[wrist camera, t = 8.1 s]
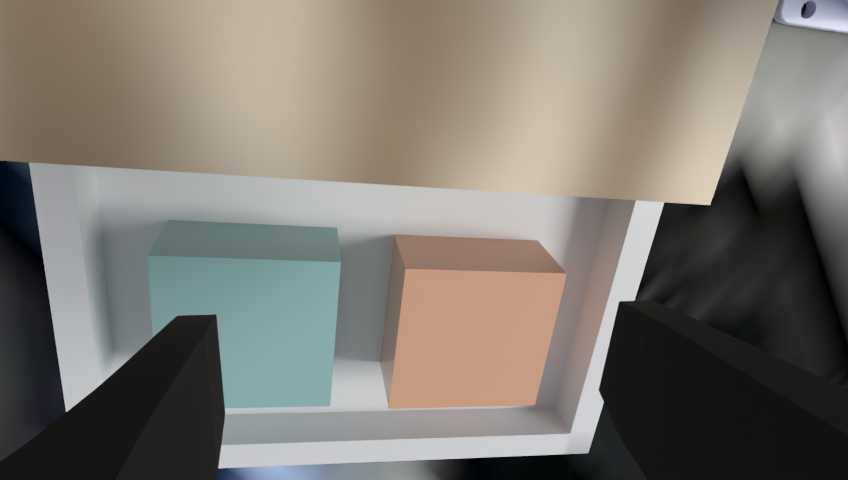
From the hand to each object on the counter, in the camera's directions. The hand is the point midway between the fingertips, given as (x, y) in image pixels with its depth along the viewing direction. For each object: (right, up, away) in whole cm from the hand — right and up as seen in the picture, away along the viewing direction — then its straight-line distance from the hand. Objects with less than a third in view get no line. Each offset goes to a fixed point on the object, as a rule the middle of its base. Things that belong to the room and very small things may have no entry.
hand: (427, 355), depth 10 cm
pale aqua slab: (-5, -1, +6) cm, 8 cm away
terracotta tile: (+2, -1, +8) cm, 8 cm away
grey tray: (-2, 0, +10) cm, 10 cm away
